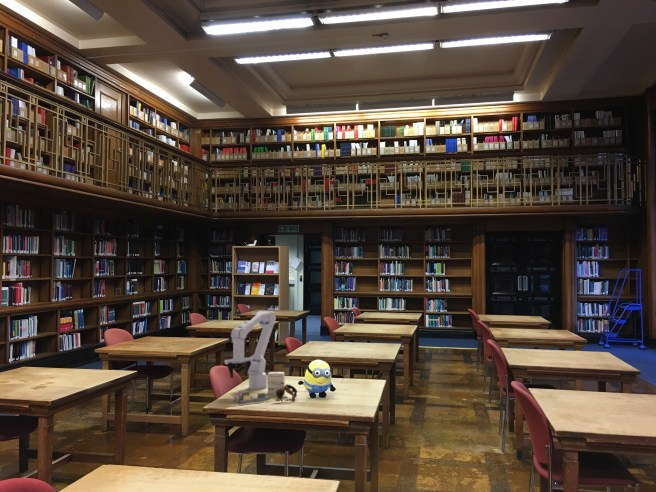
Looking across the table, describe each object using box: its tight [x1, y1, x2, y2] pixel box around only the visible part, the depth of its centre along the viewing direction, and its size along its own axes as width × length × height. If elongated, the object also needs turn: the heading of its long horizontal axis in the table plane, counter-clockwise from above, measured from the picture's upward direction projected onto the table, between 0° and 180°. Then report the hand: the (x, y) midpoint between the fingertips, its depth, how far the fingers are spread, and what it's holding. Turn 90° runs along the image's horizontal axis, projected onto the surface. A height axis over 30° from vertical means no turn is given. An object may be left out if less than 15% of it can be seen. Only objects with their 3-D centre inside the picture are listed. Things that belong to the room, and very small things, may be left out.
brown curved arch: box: [275, 383, 298, 401], centre depth 255 cm, size 12×10×8 cm
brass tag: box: [243, 394, 252, 400], centre depth 247 cm, size 4×1×2 cm, turn 117°
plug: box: [238, 389, 250, 400], centre depth 251 cm, size 4×5×6 cm
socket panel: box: [233, 393, 271, 407], centre depth 251 cm, size 16×8×2 cm, turn 117°
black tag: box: [257, 392, 266, 398], centre depth 250 cm, size 4×1×2 cm, turn 117°
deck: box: [229, 391, 239, 398], centre depth 261 cm, size 8×8×1 cm
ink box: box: [266, 371, 286, 396], centre depth 265 cm, size 9×5×12 cm, turn 84°
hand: (238, 376), depth 264 cm, fingers open, 7 cm apart
